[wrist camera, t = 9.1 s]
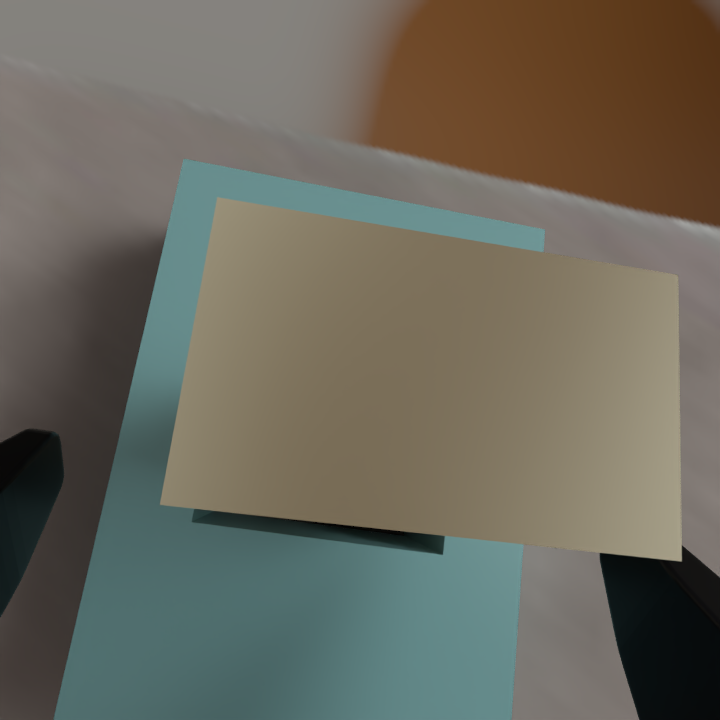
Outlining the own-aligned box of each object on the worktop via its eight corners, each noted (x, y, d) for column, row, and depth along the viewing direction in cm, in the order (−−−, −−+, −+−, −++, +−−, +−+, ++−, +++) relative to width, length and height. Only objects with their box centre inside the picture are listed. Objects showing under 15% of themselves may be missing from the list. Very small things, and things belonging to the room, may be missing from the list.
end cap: (487, 283, 20) (545, 229, 16) (449, 700, 17) (507, 777, 13) (206, 231, 19) (183, 158, 15) (113, 665, 16) (49, 737, 12)
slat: (387, 422, 18) (678, 274, 5) (379, 496, 18) (680, 561, 4) (266, 407, 18) (217, 196, 4) (254, 482, 17) (160, 504, 4)
